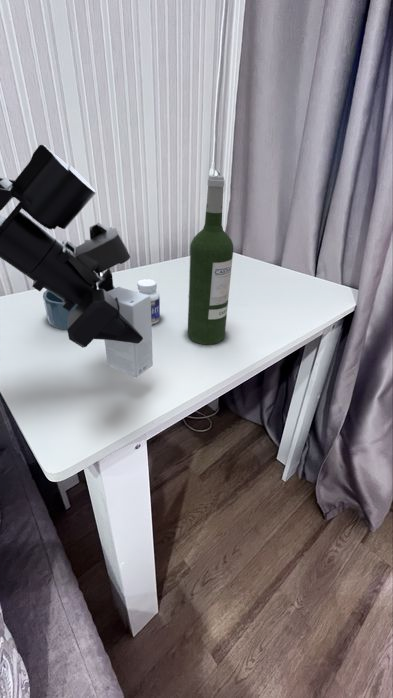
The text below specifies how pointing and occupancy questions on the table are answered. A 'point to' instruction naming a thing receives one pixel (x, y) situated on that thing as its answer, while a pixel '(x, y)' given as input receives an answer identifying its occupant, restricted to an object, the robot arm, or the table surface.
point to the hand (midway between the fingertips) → (137, 328)
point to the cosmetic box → (138, 314)
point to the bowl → (56, 310)
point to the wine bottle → (210, 272)
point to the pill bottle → (150, 289)
